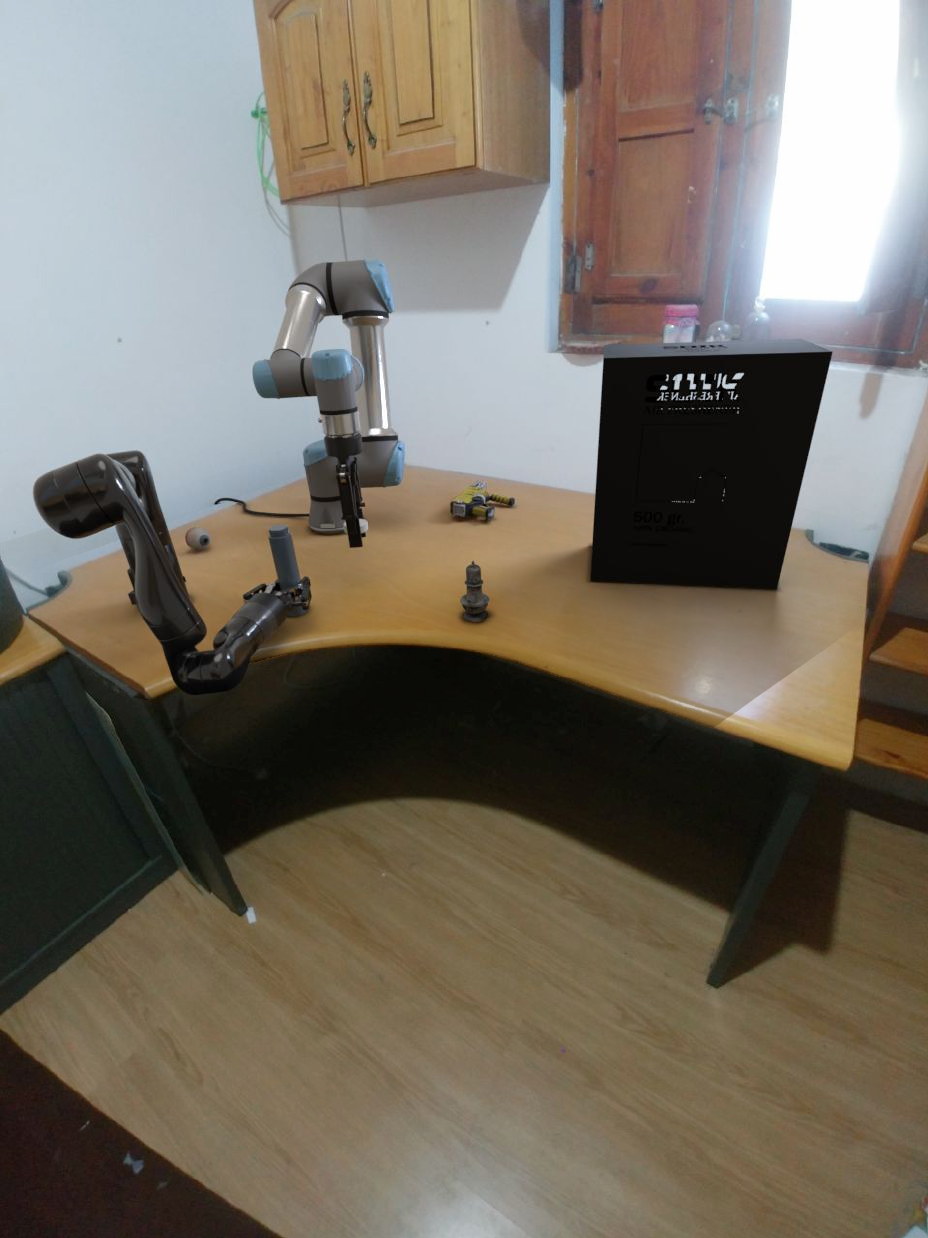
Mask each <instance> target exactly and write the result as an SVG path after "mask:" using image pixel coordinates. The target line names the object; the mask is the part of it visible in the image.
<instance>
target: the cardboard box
mask: <svg viewBox="0 0 928 1238" xmlns="http://www.w3.org/2000/svg"><path fill="white" fill-rule="evenodd" d="M833 353H834V352H833V350H830V349H827V348H826V347H825V348H824V347H822V346H821V345H818V344H815V343H813V342H810V341H808V340H805V339H802V338H783V339H782V338H781V339H779V338H777V339H776V338H775V339H749V340H747V339H746V340H723V341H722V340H720V341H719V340H718V341H689V342H687V341H685V342H683V341H682V342H657V343H654V342H653V343H627V344H625V343H624V344H623V343H621V344H604V345H603V359H602V362H603V363H602V375H601V389H600V390H601V392H600V409H599V424H598V425H599V426H598V427H599V428H598V442H597V457H596V458H597V459H596V460H597V461H596V475H595V493H594V496H595V497H594V508H593V509H594V510H593V525H592V527H593V528H592V541H591V557H590V558H591V560H590V575H589V576H590V577H589V580H590V582H603V583H622V584H623V583H625V584H626V583H628V584H645V585H647V584H648V585H669V586H670V585H671V586H693V587H712V588H714V587H715V588H734V589H735V588H737V589H755V590H757V589H758V590H759V589H760V590H778V586H779V582H780V577H781V574H782V570H783V565H784V561H785V556H786V553H787V548H788V543H789V539H790V536H791V531H792V526H793V522H794V519H795V513H796V510H797V505H798V501H799V497H800V493H801V489H802V484H803V480H804V476H805V471H806V467H807V464H808V463H807V462H808V458H809V455H810V450H811V446H812V442H813V437H814V434H815V430H816V425H817V421H818V417H819V411H820V407H821V404H822V400H823V399H822V398H823V394H824V390H825V386H826V381H827V378H828V374H829V369H830V366H831V360H832V356H833ZM738 374H742V376H741V377H740V378H735V376H736V375H738ZM678 375H681V379H680V380H679V384H678V388H675V385H676V379H675V377H676V376H678ZM689 375H693V380H692V381H691V379H688V376H689ZM702 375H704V379H702ZM719 378H720V382H719ZM724 378H725V382H724ZM723 382H724V385H730V384H731V385H734V388H725V387H724V386H723ZM691 383H692V385H695V388H691ZM705 385H710V388H704V386H705ZM662 387H666V389H662Z"/></svg>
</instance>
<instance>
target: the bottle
mask: <svg viewBox="0 0 928 1238" xmlns="http://www.w3.org/2000/svg"><path fill="white" fill-rule="evenodd" d="M267 532H268V535H267V539H268V542H269V547H270V551H271V555H272V561H273V564H274V570H275V574H276V577H277V579H278V582H279V586H280V591H283V590H285V589H287V588H288V587H294V586H296V585H297V584H298V583H299V582H300V581H301V580H302V578H301V575H300V569H299V565H298V560H297V556H296V555H297V554H296V551H295V547H294V541H293V535H292V532H291V530H290V529H289V525H287V524H284V523H278V524H273V525H271V526H269V527H268V531H267ZM297 594H298V590H297ZM307 611H308V610H303V609H302V607H295V608H294V609H293V610H292V611H290V612H288V614H287V616H288V617H300V616H302V615H304V614H306V613H307Z"/></svg>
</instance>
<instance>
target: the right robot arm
mask: <svg viewBox="0 0 928 1238" xmlns="http://www.w3.org/2000/svg"><path fill="white" fill-rule="evenodd" d="M392 289H393V288H392V285H391V281H390V277H389V273H388V270H387V267H386V265H385V263H384V262H383V261H382V260H378V259H365V258H364V259H357V260H344V261H332V262H331V261H330V262H329V261H325V262H320V263H316V264H314V265H312V266H309V267H308V268H307V269H305V270H303V272H302V273H300V274H299V275H298V276H297V277H296V278H294V280H293V281H292V282H291V284H290V286H289V287H288V291H287V292H286V295H285V301H284V302H285V308H286V310H285V313H284V315H283V319H282V322H281V324H280V328H279V331H278V334H277V337H276V340H275V342H274V347H273V348H272V352H271V355H270V358H269V359H267V358H264V359H261V360H257V361H255V362H254V363H253V365H252V370H251V371H252V372H251V373H252V381H253V384H254V388H255V390H256V393H257V394H258V396H259V397H260V398H263V399H277V400H280V399H291V398H292V399H293V398H307V397H309V398H310V397H311V398H312V397H316V399H317V404H318V410H319V417H318V419H317V421H318V423H319V424H321V429H322V434H324V435H325V436H324V437H323V439H320V440H316V441H314V442H312V443H309V444H308V445H306V446H305V447H304V448H303V450H302V457H303V467H304V471H305V477H306V481H307V486H308V492H309V498H310V507H309V513H280V512H279V513H278V512H265V511H256V510H251V509H248V508H247V503H246V502H245V501H244V500H241V499H237V498H232V497H221V498H218V499H216V500H215V502H214V503H213V505H219V503H221V502H232V503H237V504H241V505H242V510H243V511H244V513H247V514H250V515H256V516H266V517H279V518H280V517H281V518H282V517H283V518H308V521H307V522H308V523H307V524H308V528H309V529H308V530H310V531H311V532H312V533H314V534H317V535H323V536H324V535H325V536H327V535H329V536H331V535H339V534H340V535H341V534H347V533H348V534H347V538H348V545H349V548H350V549H352V548H353V549H355V548H363V546H364V544H363V538H366V536H367V534H366V532H364V533H361V530H360V523H359V519H364V512H363V511H364V510H363V508H365V507H366V502H363V495H362V494H363V493H362V489H369V488H370V489H373V488H383V489H385V488H389V487H397V486H399V485H400V484H401V483H402V481H403V478H404V472H405V462H406V450H405V449H406V447H405V442H404V441H402V440H399V434H398V433H397V431H395V430H394V429H393V428H392V416H391V405H390V393H389V392H390V390H389V378H388V367H387V366H388V365H387V352H386V343H385V342H386V341H385V327H386V326H387V325H388V324H389V322H390V314H393V313H394V312H395V300H394V295H393V290H392ZM332 316H341V320H342V324H343V325H344V326H345V327H346V328H347V329H348V331H349V339H350V351H351V352H349V350H347V349H345V348H331V349H321V350H315V351H313V352H312V354H311V351H312V348H313V344H314V341H315V337H316V333H317V330H318V327H319V324H320V323H321V322H322V321H323V320H324V319H325V317H332ZM310 355H311V356H310ZM364 520H365V519H364ZM345 522H346V526H347V533H345V532H344V525H343V524H344V523H345Z"/></svg>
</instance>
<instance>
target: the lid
mask: <svg viewBox="0 0 928 1238" xmlns="http://www.w3.org/2000/svg"><path fill="white" fill-rule="evenodd" d="M359 523H360V530H361V533H364V532H365V533H366V532H367V531H369V522H368V520H367V519H359ZM343 525H344V532H345V533H344V534H347V535H348V533H347V526H346V522H345V523H344V524H343Z"/></svg>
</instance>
